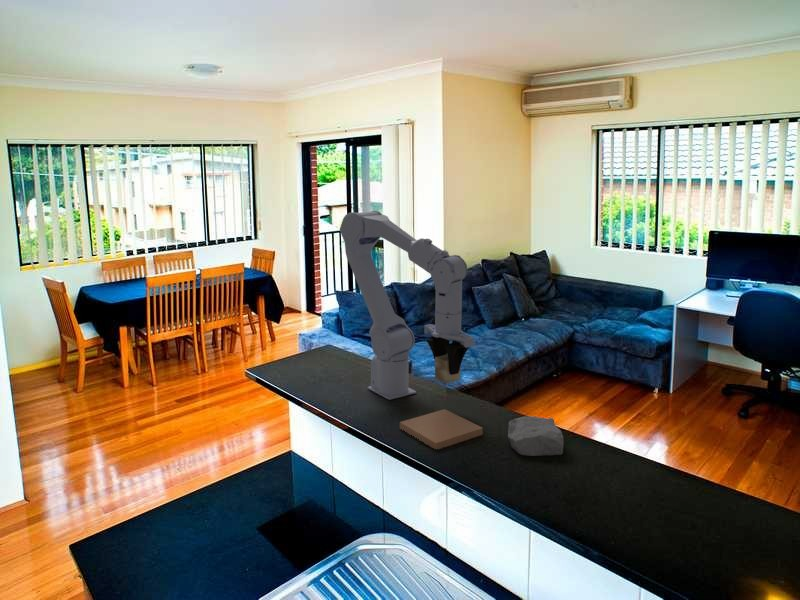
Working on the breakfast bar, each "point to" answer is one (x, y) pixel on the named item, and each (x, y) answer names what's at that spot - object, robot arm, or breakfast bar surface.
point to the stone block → (535, 436)
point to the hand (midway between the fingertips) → (447, 370)
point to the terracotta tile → (441, 429)
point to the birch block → (444, 370)
